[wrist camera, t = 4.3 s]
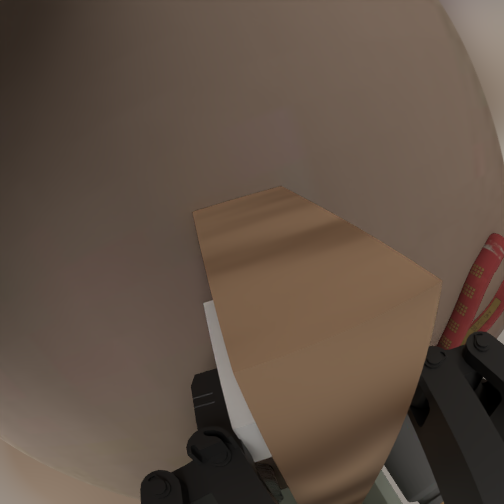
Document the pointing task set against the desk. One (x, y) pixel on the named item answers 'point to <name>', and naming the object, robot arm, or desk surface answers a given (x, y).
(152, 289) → the desk surface
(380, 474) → the green bedside cabinet
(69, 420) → the desk surface
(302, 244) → the brown wooden block
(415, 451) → the bottle
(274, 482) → the silver metal dome
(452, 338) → the pliers
